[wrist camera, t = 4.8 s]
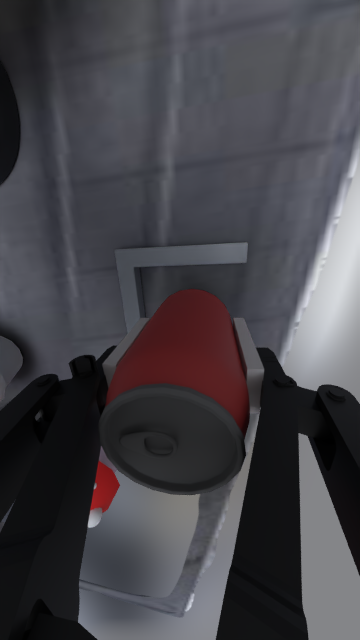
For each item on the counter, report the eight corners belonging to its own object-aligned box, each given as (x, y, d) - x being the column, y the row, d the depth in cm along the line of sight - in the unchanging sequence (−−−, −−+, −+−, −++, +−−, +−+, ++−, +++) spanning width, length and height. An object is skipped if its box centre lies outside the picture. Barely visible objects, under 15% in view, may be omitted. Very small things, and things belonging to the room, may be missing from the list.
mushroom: (73, 445, 40) (20, 524, 29) (85, 408, 36) (28, 483, 25) (123, 467, 40) (90, 554, 29) (141, 432, 36) (109, 518, 25)
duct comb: (121, 249, 25) (112, 249, 23) (245, 242, 23) (248, 242, 20) (145, 414, 34) (140, 426, 32) (235, 421, 32) (237, 434, 30)
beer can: (154, 287, 18) (63, 371, 7) (232, 286, 17) (274, 382, 6) (160, 353, 20) (101, 493, 9) (228, 355, 19) (252, 514, 8)
